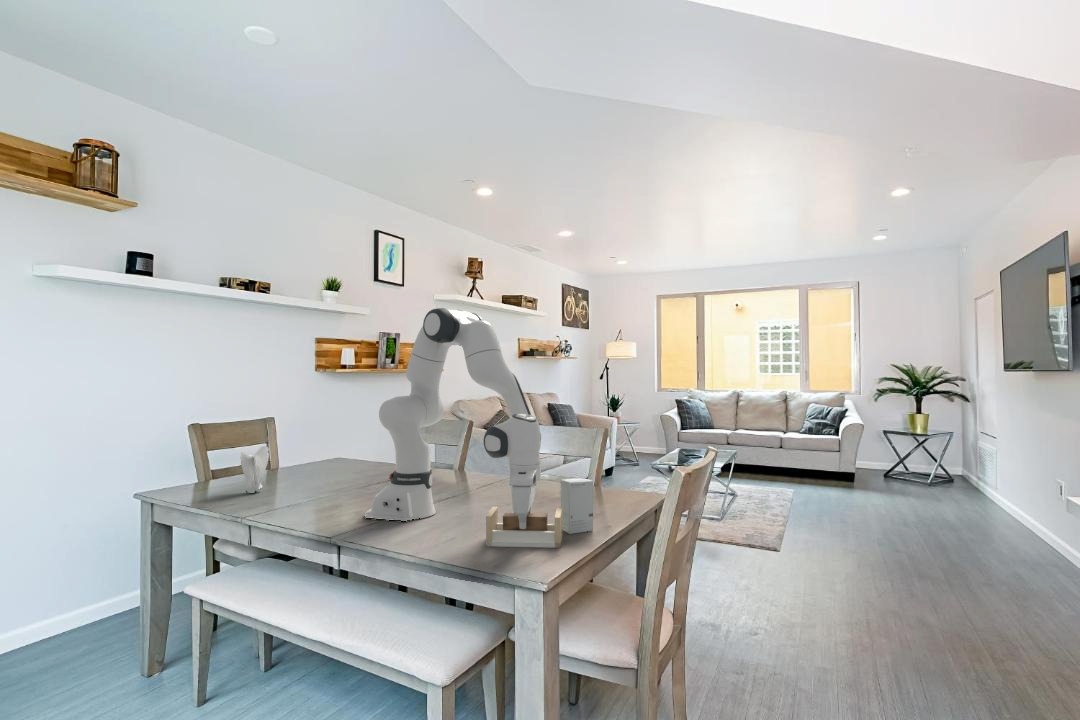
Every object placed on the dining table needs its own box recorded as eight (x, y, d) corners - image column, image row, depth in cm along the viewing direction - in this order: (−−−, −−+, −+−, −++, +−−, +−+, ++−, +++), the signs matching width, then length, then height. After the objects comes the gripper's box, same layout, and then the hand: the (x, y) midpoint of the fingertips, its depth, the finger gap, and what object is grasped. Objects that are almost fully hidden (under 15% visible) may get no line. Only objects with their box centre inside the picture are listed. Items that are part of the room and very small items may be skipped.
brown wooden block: (502, 538, 150) (502, 516, 150) (504, 534, 153) (504, 512, 154) (546, 539, 149) (546, 516, 149) (547, 535, 152) (547, 513, 152)
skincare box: (569, 534, 156) (568, 482, 156) (559, 529, 162) (559, 478, 162) (594, 531, 160) (594, 480, 160) (584, 525, 165) (584, 476, 165)
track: (486, 546, 147) (486, 516, 147) (492, 534, 157) (492, 506, 157) (560, 547, 145) (560, 517, 145) (562, 536, 155) (562, 507, 155)
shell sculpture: (237, 495, 209) (237, 447, 209) (252, 490, 217) (251, 444, 217) (256, 495, 207) (256, 448, 208) (270, 490, 216) (270, 445, 216)
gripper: (518, 466, 162) (518, 512, 162) (508, 480, 142) (508, 534, 141) (539, 466, 161) (539, 513, 161) (532, 480, 141) (532, 534, 141)
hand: (525, 523), depth 151 cm, fingers open, 8 cm apart
